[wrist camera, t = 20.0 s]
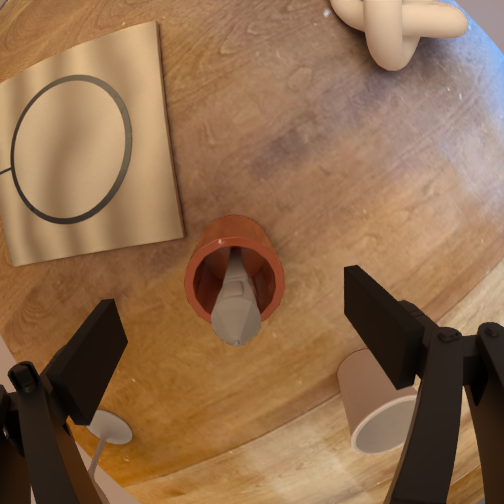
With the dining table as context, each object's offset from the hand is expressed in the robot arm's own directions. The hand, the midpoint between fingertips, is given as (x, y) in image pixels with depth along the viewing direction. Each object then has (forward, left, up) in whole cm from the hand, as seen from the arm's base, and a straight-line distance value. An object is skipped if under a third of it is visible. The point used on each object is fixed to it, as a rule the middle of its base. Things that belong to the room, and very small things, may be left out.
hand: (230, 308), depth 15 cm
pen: (0, -1, -12) cm, 12 cm away
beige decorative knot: (+16, +19, -12) cm, 28 cm away
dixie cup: (+12, -17, -12) cm, 24 cm away
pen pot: (0, -1, -12) cm, 12 cm away
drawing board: (-14, +11, -12) cm, 22 cm away
